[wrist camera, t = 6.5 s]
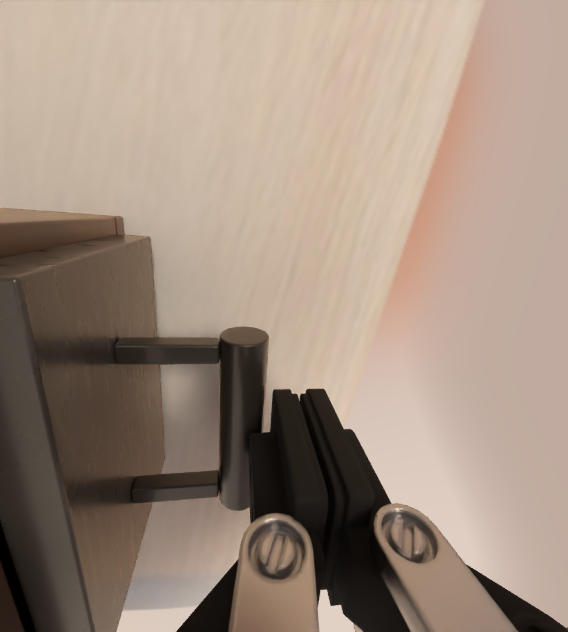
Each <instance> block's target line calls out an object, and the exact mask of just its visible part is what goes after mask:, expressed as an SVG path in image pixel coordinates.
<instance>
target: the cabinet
mask: <svg viewBox="0 0 568 632" xmlns="http://www.w3.org/2000/svg"><path fill="white" fill-rule="evenodd" d="M114 235H124V227H123V218H122V217H120V216H106V215H92V214H79V213H65V212H51V211H37V210H23V209H9V208H0V258H5V257H10V256H15V255H20V254H25V253H30V252H35V251H40V250H44V249H49V248H54V247H59V246H64V245H69V244H74V243H79V242H84V241H89V240H94V239H99V238H104V237H109V236H114ZM0 632H35V629H34V626H33V623H32V619H31V616H30V613H29V610H28V607H27V604H26V602H25V604H24V606H23V608H22V610H21V612H20V613H19V612H18V609H17V606H16V603H15V600H14V597H13V594H12V591H11V588H10V585H9V582H8V579H7V577H6V574H5V571H4V568H3V565H2V562H1V559H0Z"/></svg>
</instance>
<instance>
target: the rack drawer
mask: <svg viewBox="0 0 568 632" xmlns="http://www.w3.org/2000/svg"><path fill="white" fill-rule="evenodd" d="M268 346H269V336H268V334H267V333H266V332H265V331H263V330H260V329H257V328H253V327H234V328H229V329H227V330H224V331H223V332H222V333H221V334H220V339H219V338H157V327H156V312H155V297H154V283H153V268H152V253H151V239H150V237H147V236H131V235H114V236H109V237H104V238H99V239H94V240H89V241H84V242H79V243H74V244H69V245H64V246H59V247H54V248H49V249H44V250H40V251H35V252H30V253H25V254H20V255H15V256H10V257H5V258H0V559H1V562H2V565H3V568H4V571H5V574H6V577H7V579H8V582H9V585H10V588H11V591H12V594H13V597H14V600H15V603H16V606H17V609H18V612H19V613H20V612H21V610H22V608H23V606H24V604H25V602H26V604H27V607H28V610H29V613H30V616H31V619H32V623H33V626H34V629H35V632H116V631H117V627H118V624H119V620H120V617H121V613H122V610H123V606H124V603H125V599H126V595H127V592H128V588H129V585H130V581H131V578H132V574H133V571H134V567H135V563H136V560H137V556H138V553H139V549H140V546H141V542H142V539H143V535H144V531H145V528H146V524H147V521H148V517H149V514H150V510H151V507H152V503H153V502H162V501H174V500H186V499H199V498H211V497H218V493H219V499H220V501H221V503H222V504H223V505H224V506H225V507H226V508H228V509H230V510H234V511H241V510H245V509H247V508H249V507H250V488H249V451H250V433H263V424H264V408H265V393H266V377H267V362H268ZM219 359H220V370H219V471H218V470H215V471H200V472H185V473H170V474H161V471H162V468H163V464H164V460H165V446H164V431H163V416H162V402H161V387H160V372H159V364H218V363H219Z"/></svg>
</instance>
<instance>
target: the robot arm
mask: <svg viewBox="0 0 568 632" xmlns="http://www.w3.org/2000/svg"><path fill="white" fill-rule="evenodd" d="M249 488H250V519H251V524H250V525H249V527H248V528H247V530H246V531H245V533H244V535H243V538H242V542H241V545H240V552H239V559H238V560H237V561H236V563H235V564H234V565H233V566H232V567H231V568H230V570H229V571H228V572H227V573H226V574H225V575H224V577H223V578H222V579H221V580H220V581H219V582H218V584H217V585H216V586H215V587H214V588H213V589H212V591H211V592H210V593H209V594H208V595H207V596H206V598H205V599H204V600H203V601H202V602H201V603H200V605H199V606H198V607H197V608H196V609H195V611H194V612H193V613H192V614H191V615H190V616H189V618H188V619H187V620H186V621H185V622H184V623H183V624H182V626H181V627H180V628H179V629H178V630H177V632H319V622H318V609H317V608H318V602H319V596H320V590H325V589H327V591H328V596H329V600H330V604H331V606H334V605H341V606H342V610H343V614H344V615H345V616H346V617H347V618H348V619H350V620H351V621H352V622H353V623H354V629H355V632H568V628H565V627H564V626H562V625H561V624H560V623H558V622H557V621H555V620H554V619H553V618H551V617H550V616H548V615H547V614H545V613H544V612H542V611H540V610H539V609H537V608H536V607H534V606H532V605H531V604H529V603H528V602H526V601H524V600H523V599H521V598H519V597H518V596H516V595H515V594H513V593H511V592H510V591H508V590H507V589H505V588H503V587H502V586H500V585H499V584H497V583H495V582H493V581H492V580H490V579H489V578H487V577H486V576H484V575H482V574H481V573H479V572H478V571H476V570H474V569H473V568H471V567H469V566H468V565H466V564H465V563H464V562H463V560H462V559H461V558H460V556H459V555H458V554H457V552H456V551H455V550H454V549H453V547H452V546H451V545H450V543H449V542H448V541H447V540H446V538H445V537H444V536H443V534H442V533H441V532H440V531H439V530H438V528H437V527H436V526H435V525H434V524H433V523H432V521H430V520H429V518H428V517H426V516H425V515H424V514H422V513H421V512H420V511H418V510H416V509H414V508H412V507H410V506H407V505H402V504H391V502H390V500H389V498H388V496H387V494H386V492H385V490H384V489H383V486H382V485H381V483H380V481H379V479H378V477H377V475H376V473H375V471H374V469H373V468H372V465H371V463H370V462H369V460H368V458H367V456H366V454H365V452H364V450H363V448H362V446H361V444H360V442H359V440H358V439H357V437H356V435H355V433H354V432H353V431H352V430H351V429H343V427H342V425H341V423H340V420H339V418H338V416H337V414H336V412H335V410H334V408H333V406H332V404H331V402H330V400H329V398H328V396H327V393H326V391H325V390H324V389H307V390H306V394H301V395H300V402H299V398H298V395H297V394H292V393H291V390H290V389H284V390H273V397H272V412H271V428H270V432H266V433H250V451H249Z"/></svg>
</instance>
